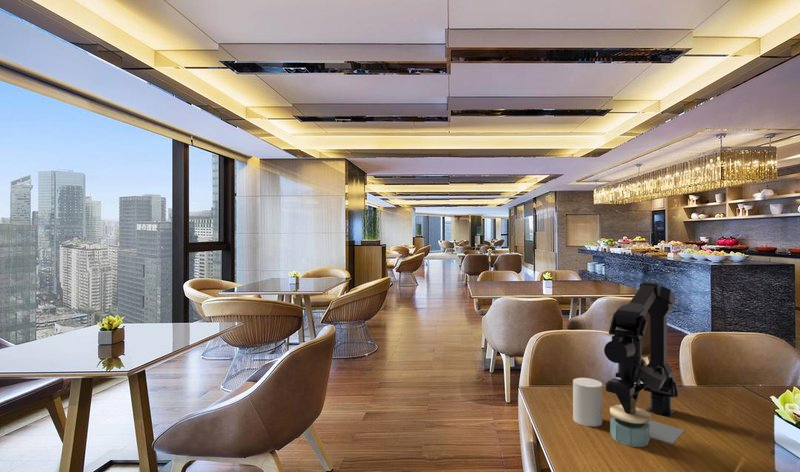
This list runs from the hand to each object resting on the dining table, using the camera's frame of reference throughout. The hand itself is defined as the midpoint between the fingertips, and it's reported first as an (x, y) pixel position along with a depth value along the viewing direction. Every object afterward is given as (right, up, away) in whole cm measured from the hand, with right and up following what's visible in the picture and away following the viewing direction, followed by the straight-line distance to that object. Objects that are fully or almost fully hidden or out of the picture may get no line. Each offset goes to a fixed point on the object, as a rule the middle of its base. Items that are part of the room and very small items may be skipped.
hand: (629, 411), depth 119 cm
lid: (0, -1, 0) cm, 1 cm away
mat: (+10, -8, +5) cm, 14 cm away
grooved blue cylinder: (0, -8, 0) cm, 8 cm away
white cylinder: (-7, -8, +12) cm, 16 cm away
